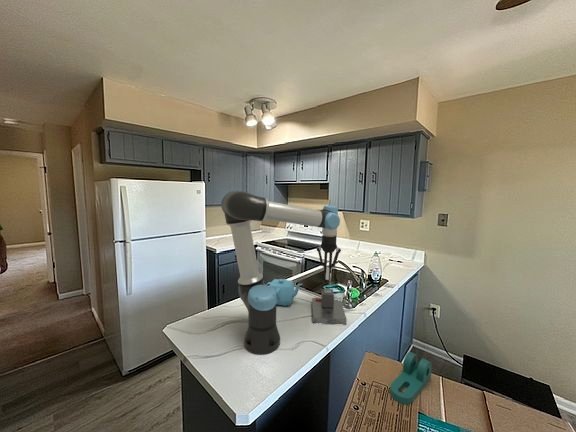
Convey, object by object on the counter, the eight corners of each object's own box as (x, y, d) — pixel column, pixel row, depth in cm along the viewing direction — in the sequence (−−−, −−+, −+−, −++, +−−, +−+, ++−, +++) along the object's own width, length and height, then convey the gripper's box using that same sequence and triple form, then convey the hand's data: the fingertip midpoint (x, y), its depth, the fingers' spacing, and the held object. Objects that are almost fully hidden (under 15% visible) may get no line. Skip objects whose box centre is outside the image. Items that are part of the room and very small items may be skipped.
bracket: (410, 368, 92) (412, 348, 91) (430, 379, 86) (432, 358, 86) (386, 394, 80) (387, 372, 79) (407, 408, 75) (409, 384, 74)
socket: (346, 325, 120) (346, 317, 119) (313, 323, 121) (313, 316, 120) (340, 303, 142) (340, 297, 141) (311, 302, 143) (312, 296, 142)
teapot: (273, 311, 132) (273, 287, 131) (262, 298, 147) (262, 277, 145) (303, 305, 140) (303, 282, 138) (290, 293, 155) (290, 272, 153)
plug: (333, 313, 130) (334, 294, 129) (321, 312, 131) (322, 293, 130) (332, 306, 137) (332, 288, 136) (321, 306, 138) (321, 288, 137)
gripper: (340, 234, 133) (338, 277, 135) (316, 233, 134) (314, 275, 136) (343, 237, 125) (340, 282, 128) (317, 235, 126) (315, 280, 129)
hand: (327, 278), depth 132 cm, fingers closed
